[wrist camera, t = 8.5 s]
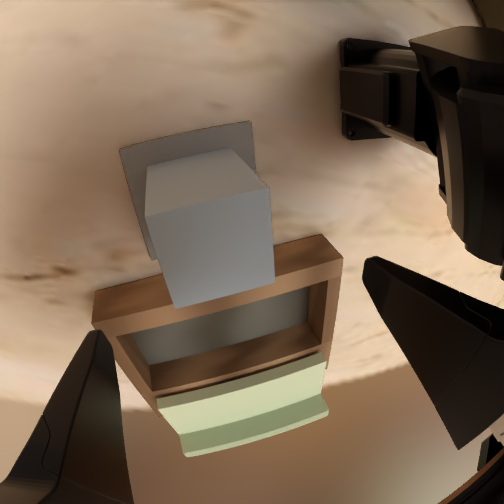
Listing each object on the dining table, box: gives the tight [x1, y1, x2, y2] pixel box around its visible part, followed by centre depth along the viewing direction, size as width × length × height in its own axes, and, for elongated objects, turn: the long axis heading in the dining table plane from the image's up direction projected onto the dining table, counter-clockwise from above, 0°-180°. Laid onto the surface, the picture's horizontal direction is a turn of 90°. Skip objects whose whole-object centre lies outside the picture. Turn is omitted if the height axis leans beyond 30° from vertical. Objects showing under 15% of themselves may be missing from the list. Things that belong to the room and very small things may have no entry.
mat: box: [119, 121, 256, 260], centre depth 17 cm, size 7×7×1 cm
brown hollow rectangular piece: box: [91, 234, 343, 417], centre depth 22 cm, size 16×13×3 cm
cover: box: [156, 352, 329, 457], centre depth 23 cm, size 14×7×3 cm, turn 95°
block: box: [145, 148, 275, 309], centre depth 14 cm, size 4×4×6 cm
